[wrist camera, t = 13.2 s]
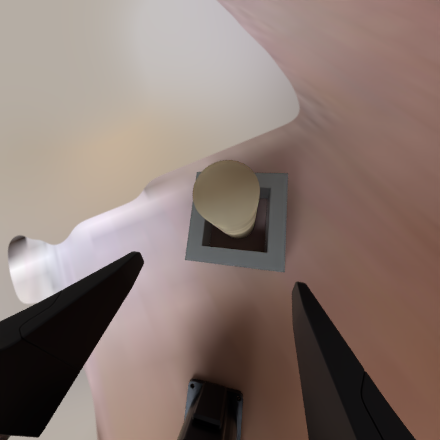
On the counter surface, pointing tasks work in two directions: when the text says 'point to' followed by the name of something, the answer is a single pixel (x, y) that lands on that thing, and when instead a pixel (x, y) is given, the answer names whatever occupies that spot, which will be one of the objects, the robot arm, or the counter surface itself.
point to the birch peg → (228, 197)
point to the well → (274, 233)
